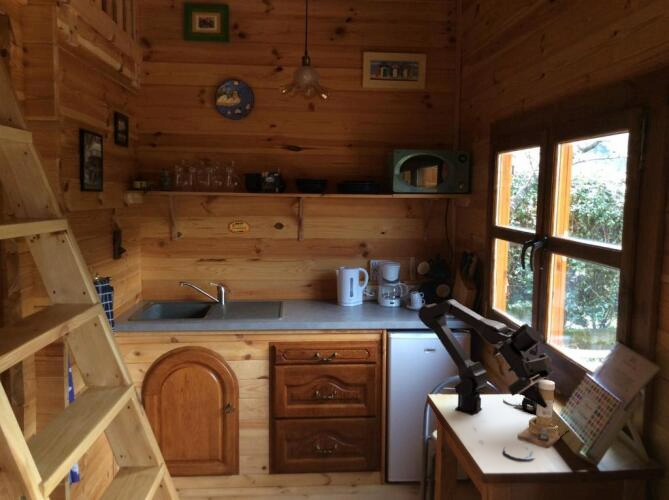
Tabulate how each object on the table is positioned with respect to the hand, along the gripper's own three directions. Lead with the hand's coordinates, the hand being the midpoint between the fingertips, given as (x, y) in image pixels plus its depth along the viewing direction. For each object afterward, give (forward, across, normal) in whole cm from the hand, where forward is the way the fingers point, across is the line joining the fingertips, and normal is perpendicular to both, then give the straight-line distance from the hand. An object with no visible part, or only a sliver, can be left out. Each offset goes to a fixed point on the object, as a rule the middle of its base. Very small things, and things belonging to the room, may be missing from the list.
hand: (549, 405), depth 163 cm
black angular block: (-2, +15, +16) cm, 22 cm away
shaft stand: (+6, 0, +7) cm, 9 cm away
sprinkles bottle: (+4, 0, +6) cm, 7 cm away
